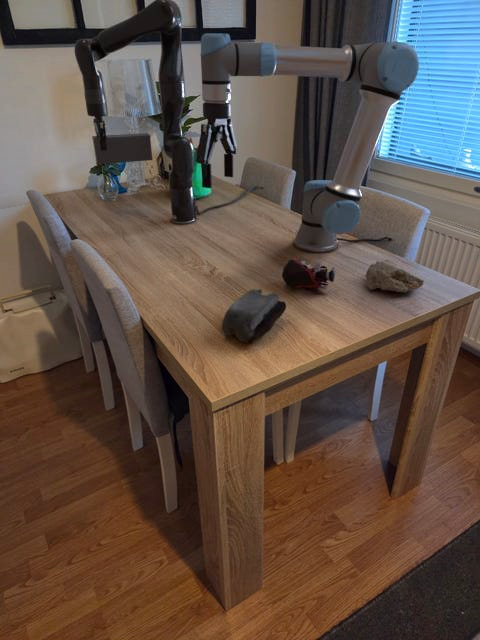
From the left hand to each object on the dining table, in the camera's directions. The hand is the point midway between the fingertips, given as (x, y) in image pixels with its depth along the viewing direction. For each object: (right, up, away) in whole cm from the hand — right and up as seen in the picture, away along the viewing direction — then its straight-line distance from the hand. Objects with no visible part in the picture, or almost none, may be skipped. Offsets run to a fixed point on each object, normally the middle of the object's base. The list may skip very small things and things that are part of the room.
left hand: (103, 148), depth 176 cm
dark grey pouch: (+58, -70, -61) cm, 110 cm away
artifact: (+100, -57, -39) cm, 121 cm away
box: (+7, -3, +5) cm, 9 cm away
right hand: (+48, -27, -45) cm, 71 cm away
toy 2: (+74, -59, -42) cm, 104 cm away
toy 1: (+30, -7, +41) cm, 51 cm away
